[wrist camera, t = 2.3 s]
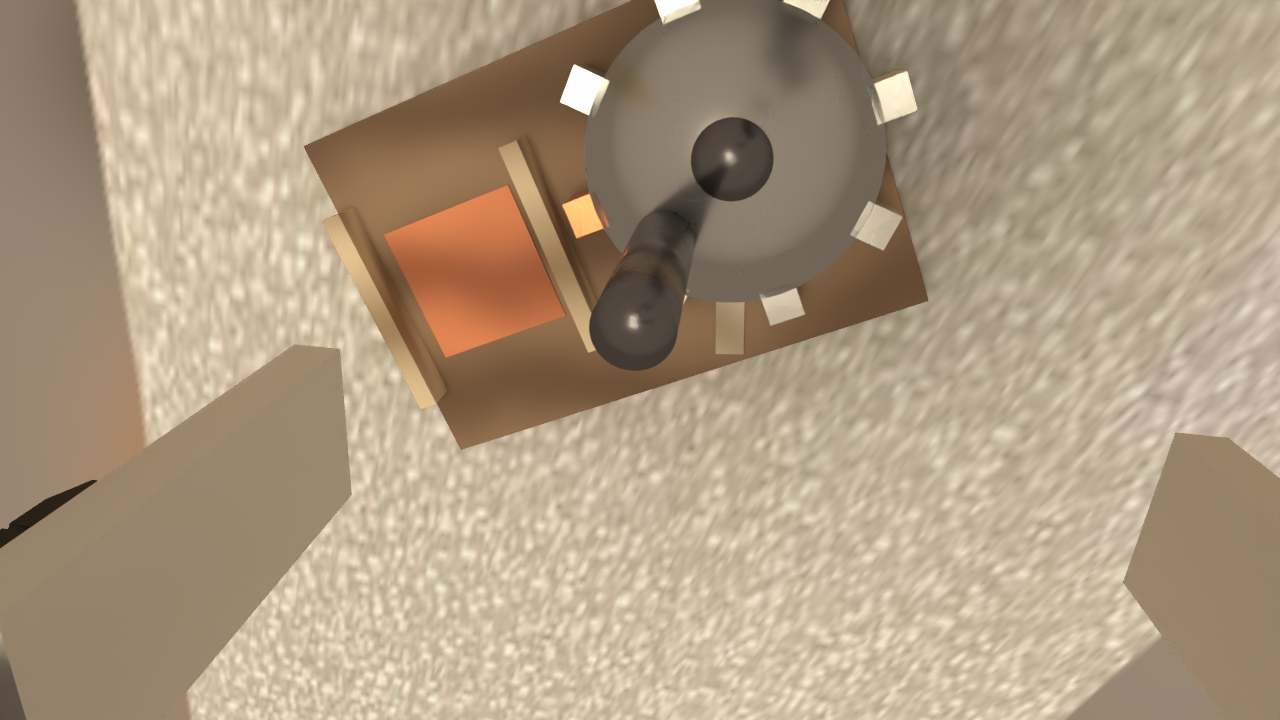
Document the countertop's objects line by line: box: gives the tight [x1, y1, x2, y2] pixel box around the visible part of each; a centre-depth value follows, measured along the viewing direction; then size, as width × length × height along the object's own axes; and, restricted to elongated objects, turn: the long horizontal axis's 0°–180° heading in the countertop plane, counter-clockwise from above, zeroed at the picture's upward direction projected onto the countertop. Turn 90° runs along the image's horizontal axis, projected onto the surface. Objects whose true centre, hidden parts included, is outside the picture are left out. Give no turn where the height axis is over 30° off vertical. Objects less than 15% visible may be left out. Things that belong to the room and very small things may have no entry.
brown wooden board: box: [304, 0, 928, 450], centre depth 33 cm, size 15×22×2 cm
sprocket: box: [560, 0, 917, 371], centre depth 26 cm, size 13×13×12 cm
